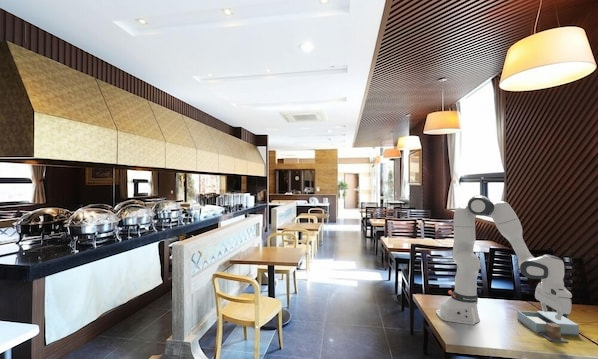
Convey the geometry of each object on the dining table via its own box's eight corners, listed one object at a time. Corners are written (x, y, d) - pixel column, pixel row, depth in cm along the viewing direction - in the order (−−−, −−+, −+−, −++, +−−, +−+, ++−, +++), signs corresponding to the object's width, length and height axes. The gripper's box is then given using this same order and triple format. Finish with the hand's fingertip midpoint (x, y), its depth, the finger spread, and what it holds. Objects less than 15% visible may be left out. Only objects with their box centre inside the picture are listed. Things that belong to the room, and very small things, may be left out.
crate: (536, 333, 154) (536, 322, 154) (517, 319, 170) (517, 309, 170) (578, 335, 152) (578, 324, 152) (555, 322, 168) (555, 312, 168)
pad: (550, 341, 146) (550, 340, 146) (539, 333, 154) (539, 332, 154) (568, 342, 145) (568, 341, 145) (555, 334, 153) (555, 333, 153)
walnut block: (551, 338, 147) (551, 326, 148) (546, 334, 151) (546, 322, 152) (560, 339, 147) (560, 326, 147) (554, 335, 151) (554, 323, 151)
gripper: (531, 280, 161) (530, 306, 160) (560, 294, 140) (559, 323, 140) (544, 281, 160) (543, 307, 160) (574, 295, 140) (573, 325, 139)
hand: (551, 315), depth 150 cm, fingers open, 8 cm apart
